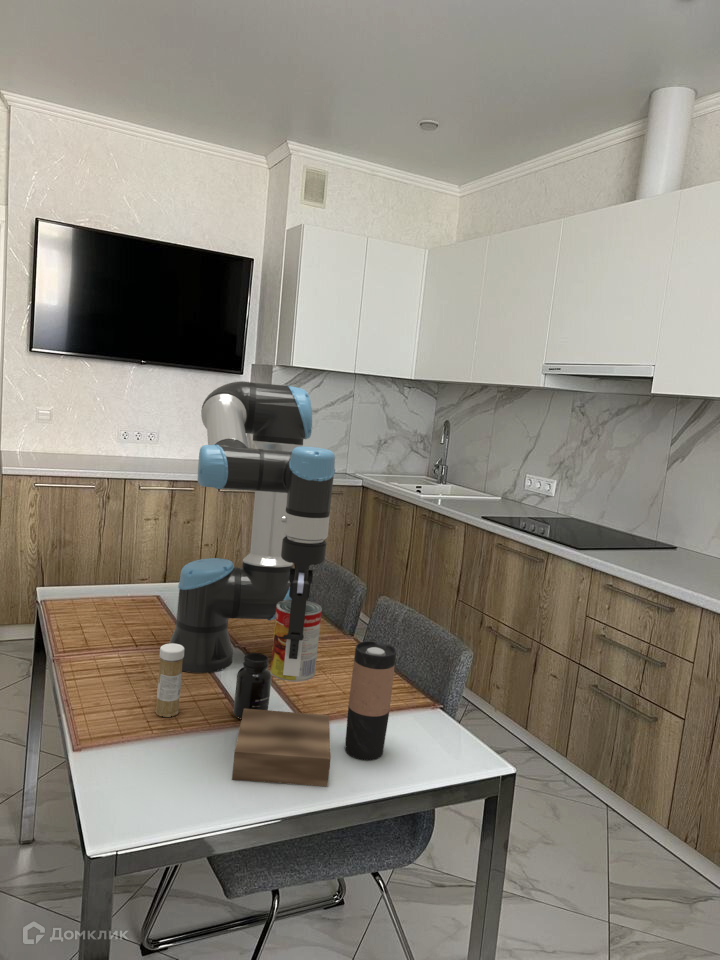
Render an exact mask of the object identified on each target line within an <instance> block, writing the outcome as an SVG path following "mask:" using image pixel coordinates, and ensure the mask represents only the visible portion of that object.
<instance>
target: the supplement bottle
mask: <svg viewBox="0 0 720 960" xmlns="http://www.w3.org/2000/svg"><path fill="white" fill-rule="evenodd" d="M242 666H243V667H241V668H240V669H239V670H238V672H237V675H236V683H235V691H234V692H235V693H234V700H233V711H232V712H233V715H234V714H235V715H234V716H235V717H236V716H237V717H239V718H241V719H242V715H243V710H244V709H257V710H269V703H270V695H271V687H272V676H273V675H272V674H271V672H270V670H269V669H268V668H269V656H268V655H266V654H263V653H258V652H251V653H247V654H245V655H244V657H243V662H242ZM237 717H236V718H237ZM241 719H240V720H241Z"/></svg>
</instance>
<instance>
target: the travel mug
mask: <svg viewBox="0 0 720 960" xmlns="http://www.w3.org/2000/svg"><path fill="white" fill-rule="evenodd" d="M354 650H355V651H354V658H353V666H352V672H351V673H352V675H351V683H350V691H349V698H348V705H347V718H346V731H345V743H344V749H345V750H344V751H345V752H346V753H347V755H349V756H350V757H352V758H354V759H355V760H361V761H375V760H377V759H379V758H381V757H382V755H383V754H384V753H383V752H384V748H385V742H386V736H387V735H386V734H387V730H388V729H387V728H388V723H389V716H390V709H391V701H392V692H393V684H394V683H393V682H394V675H395V665H396V657H397V649H396V648H395V647H394V646H393V645H390V644H387V645H381V644H378V643H377V641H373V640H368V641H367V640H366V641H362V642H361V641H360V642H358V643H357V644H356V646H355V649H354Z"/></svg>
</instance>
